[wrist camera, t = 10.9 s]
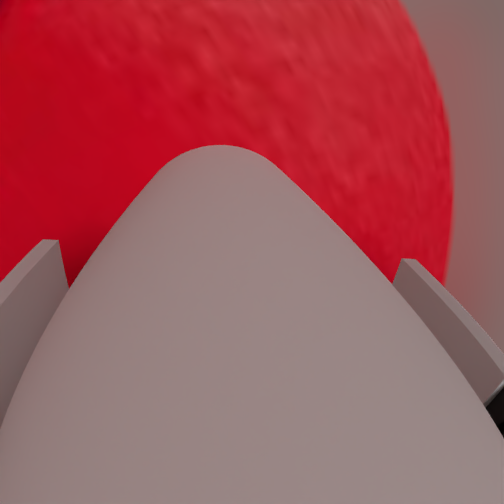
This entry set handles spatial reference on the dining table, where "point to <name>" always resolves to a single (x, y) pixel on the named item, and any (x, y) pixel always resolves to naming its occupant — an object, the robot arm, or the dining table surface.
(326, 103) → the dining table surface
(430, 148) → the dining table surface
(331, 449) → the cup
